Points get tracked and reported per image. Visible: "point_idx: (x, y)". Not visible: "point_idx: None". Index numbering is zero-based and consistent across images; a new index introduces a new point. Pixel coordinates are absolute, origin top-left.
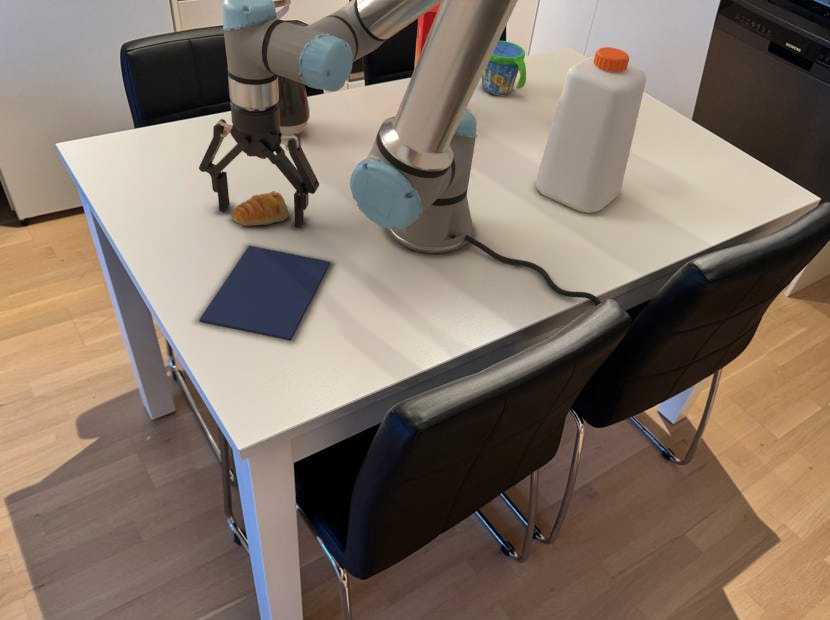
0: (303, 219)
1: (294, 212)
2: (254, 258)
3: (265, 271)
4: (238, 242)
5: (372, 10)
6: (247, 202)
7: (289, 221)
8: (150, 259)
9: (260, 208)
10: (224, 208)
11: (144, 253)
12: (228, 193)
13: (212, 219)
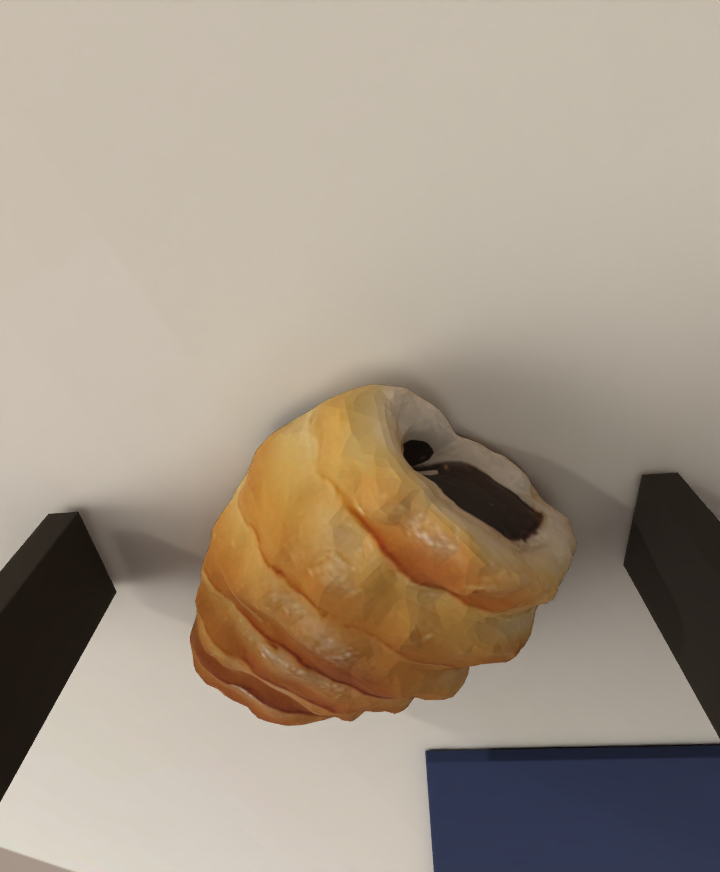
0: (678, 480)
1: (684, 673)
2: (490, 809)
3: (566, 846)
4: (357, 736)
5: None
6: (256, 670)
7: (565, 516)
8: (123, 859)
9: (392, 701)
10: (102, 594)
11: (78, 846)
12: (24, 585)
13: (113, 644)
